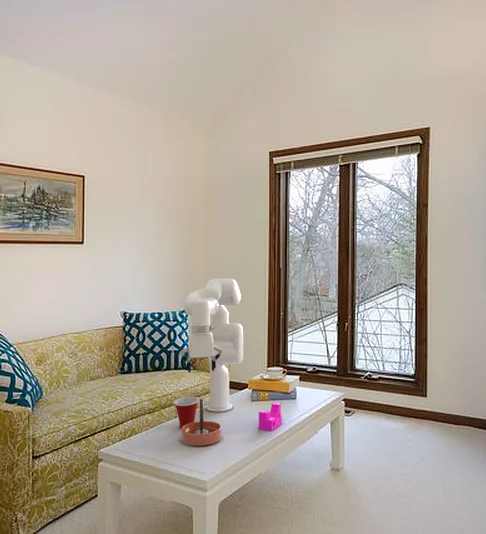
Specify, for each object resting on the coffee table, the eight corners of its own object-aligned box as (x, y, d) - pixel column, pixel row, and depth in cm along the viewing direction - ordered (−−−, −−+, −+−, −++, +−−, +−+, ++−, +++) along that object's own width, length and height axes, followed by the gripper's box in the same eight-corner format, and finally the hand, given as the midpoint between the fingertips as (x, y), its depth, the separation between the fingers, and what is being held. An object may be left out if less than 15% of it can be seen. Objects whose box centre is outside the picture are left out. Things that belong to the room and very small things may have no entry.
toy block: (271, 430, 212) (271, 413, 211) (258, 428, 214) (258, 411, 214) (285, 420, 225) (285, 404, 225) (273, 418, 228) (273, 402, 228)
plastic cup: (169, 427, 217) (168, 400, 217) (189, 421, 225) (189, 395, 225) (183, 432, 210) (183, 404, 209) (203, 426, 217) (203, 399, 217)
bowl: (173, 442, 198) (172, 430, 198) (199, 430, 212) (198, 418, 212) (204, 449, 190) (204, 437, 190) (229, 436, 204) (229, 424, 204)
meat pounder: (191, 439, 200) (191, 399, 200) (200, 434, 205) (200, 396, 205) (202, 441, 198) (202, 401, 198) (211, 437, 203) (211, 398, 202)
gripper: (220, 327, 207) (221, 367, 207) (178, 329, 202) (179, 370, 202) (223, 330, 200) (223, 371, 200) (179, 331, 195) (180, 374, 195)
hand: (201, 371), depth 201 cm, fingers open, 9 cm apart
